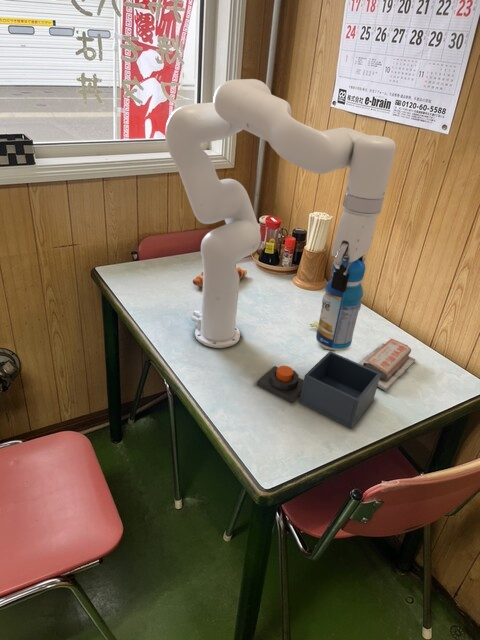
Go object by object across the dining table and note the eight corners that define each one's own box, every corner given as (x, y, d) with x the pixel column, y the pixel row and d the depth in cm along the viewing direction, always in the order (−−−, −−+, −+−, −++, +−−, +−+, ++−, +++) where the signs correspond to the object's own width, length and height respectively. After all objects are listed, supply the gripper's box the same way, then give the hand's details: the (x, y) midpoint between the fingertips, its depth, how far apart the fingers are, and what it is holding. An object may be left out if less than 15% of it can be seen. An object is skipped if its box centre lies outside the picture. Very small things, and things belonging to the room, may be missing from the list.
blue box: (299, 401, 113) (304, 375, 109) (324, 376, 122) (329, 350, 118) (351, 428, 107) (358, 401, 102) (373, 399, 116) (381, 373, 112)
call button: (272, 377, 115) (273, 371, 114) (281, 369, 118) (282, 363, 117) (286, 384, 114) (288, 378, 113) (295, 376, 116) (296, 370, 115)
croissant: (240, 281, 171) (235, 259, 170) (256, 280, 162) (252, 256, 161) (188, 293, 159) (183, 270, 158) (203, 292, 151) (198, 267, 150)
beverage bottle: (349, 355, 107) (368, 274, 96) (311, 346, 109) (326, 266, 98) (353, 336, 114) (371, 259, 103) (318, 328, 116) (333, 251, 105)
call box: (256, 384, 117) (258, 374, 115) (274, 370, 123) (275, 359, 121) (291, 403, 112) (293, 392, 111) (308, 386, 118) (310, 376, 116)
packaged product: (385, 332, 133) (419, 348, 128) (381, 347, 136) (414, 362, 131) (354, 358, 121) (390, 377, 116) (350, 374, 124) (385, 392, 119)
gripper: (362, 190, 102) (346, 266, 111) (326, 207, 90) (311, 291, 99) (396, 198, 99) (376, 276, 108) (363, 218, 86) (344, 304, 95)
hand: (345, 283), depth 103 cm, fingers closed on beverage bottle, 6 cm apart
